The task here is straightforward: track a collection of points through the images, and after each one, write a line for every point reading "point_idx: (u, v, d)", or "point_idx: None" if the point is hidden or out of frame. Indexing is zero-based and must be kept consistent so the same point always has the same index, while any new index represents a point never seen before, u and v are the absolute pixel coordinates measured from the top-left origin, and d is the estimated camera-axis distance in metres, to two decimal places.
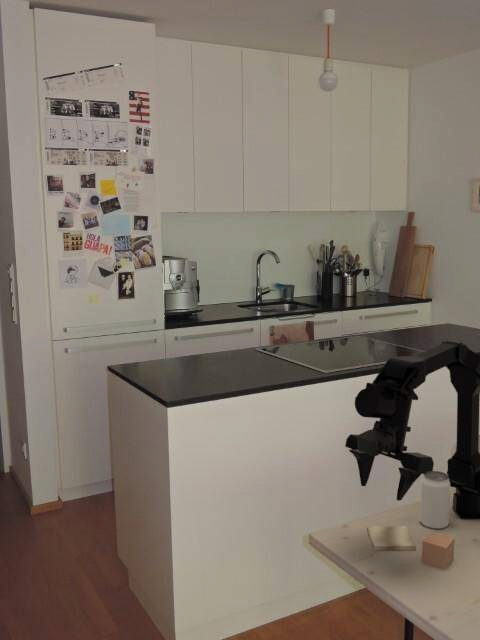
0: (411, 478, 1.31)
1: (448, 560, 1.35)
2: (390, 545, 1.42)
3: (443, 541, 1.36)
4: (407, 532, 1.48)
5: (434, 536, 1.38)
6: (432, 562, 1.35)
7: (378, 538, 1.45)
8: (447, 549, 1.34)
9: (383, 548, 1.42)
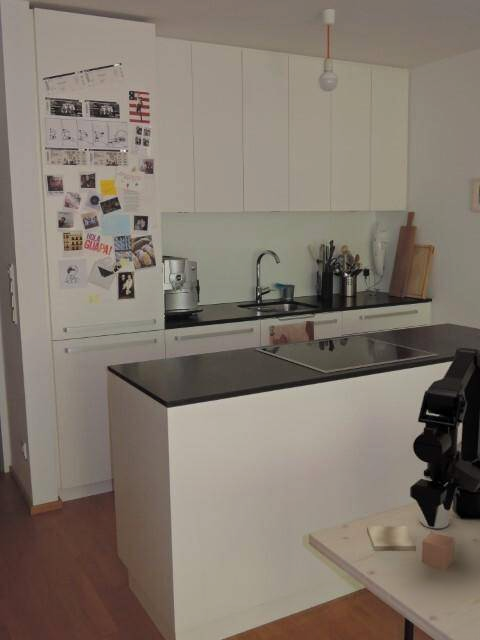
0: None
1: (448, 560, 1.35)
2: (390, 545, 1.42)
3: (443, 541, 1.36)
4: (407, 532, 1.48)
5: (434, 536, 1.38)
6: (432, 562, 1.35)
7: (378, 538, 1.45)
8: (447, 549, 1.34)
9: (383, 548, 1.42)
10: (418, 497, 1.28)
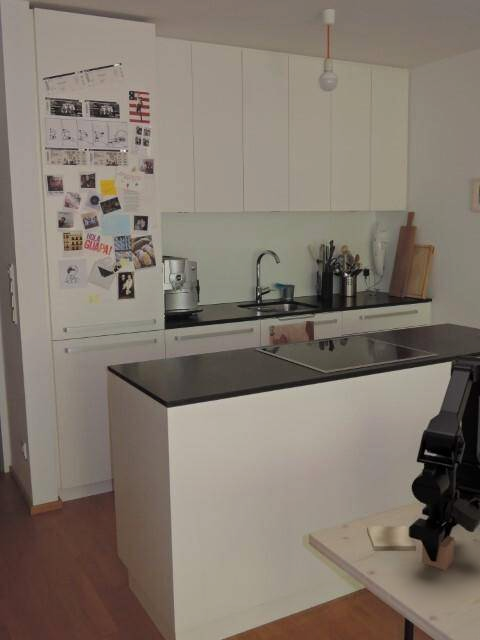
0: None
1: (448, 560, 1.35)
2: (390, 545, 1.42)
3: (443, 541, 1.36)
4: (407, 532, 1.48)
5: None
6: (432, 562, 1.35)
7: (378, 538, 1.45)
8: (447, 549, 1.34)
9: (383, 548, 1.42)
10: (416, 537, 1.29)
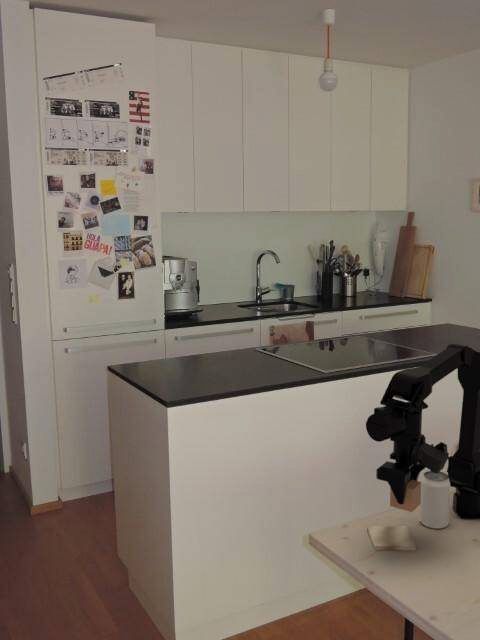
0: None
1: (415, 503, 1.40)
2: (390, 545, 1.42)
3: (410, 484, 1.40)
4: (407, 532, 1.48)
5: None
6: (400, 504, 1.40)
7: (378, 538, 1.45)
8: (414, 491, 1.39)
9: (383, 548, 1.42)
10: (384, 478, 1.34)
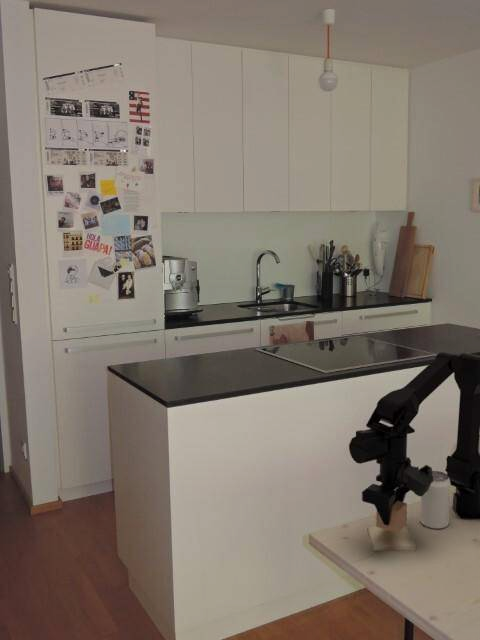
0: None
1: (400, 524, 1.43)
2: (390, 545, 1.42)
3: (396, 506, 1.44)
4: (407, 532, 1.48)
5: None
6: (385, 525, 1.44)
7: (378, 538, 1.45)
8: (399, 513, 1.42)
9: (383, 548, 1.42)
10: (369, 501, 1.38)
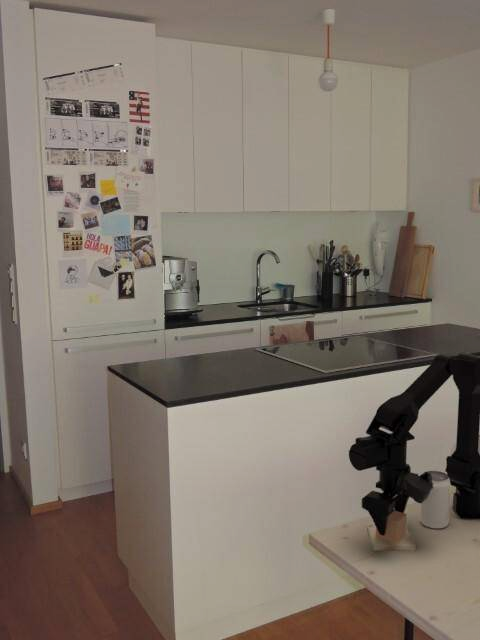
0: None
1: (400, 534, 1.44)
2: (390, 545, 1.42)
3: (395, 516, 1.44)
4: (407, 532, 1.48)
5: None
6: (385, 536, 1.44)
7: (378, 538, 1.45)
8: (399, 524, 1.43)
9: (383, 548, 1.42)
10: (368, 508, 1.38)
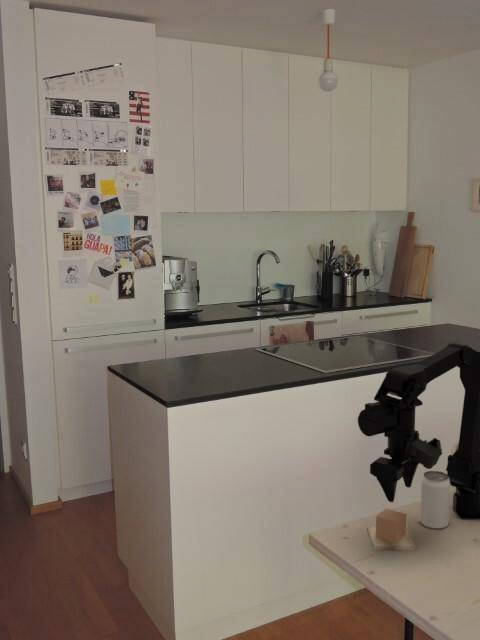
0: None
1: (400, 534, 1.44)
2: (390, 545, 1.42)
3: (395, 516, 1.44)
4: (407, 532, 1.48)
5: (387, 512, 1.46)
6: (385, 536, 1.44)
7: (378, 538, 1.45)
8: (399, 524, 1.43)
9: (383, 548, 1.42)
10: (377, 473, 1.36)
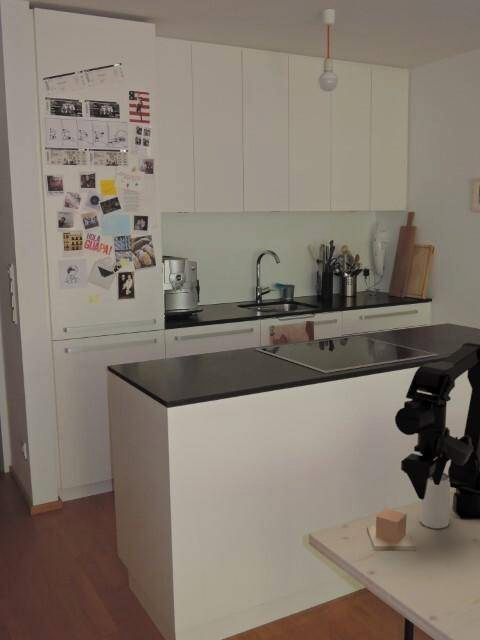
0: None
1: (400, 534, 1.44)
2: (390, 545, 1.42)
3: (395, 516, 1.44)
4: (407, 532, 1.48)
5: (387, 512, 1.46)
6: (385, 536, 1.44)
7: (378, 538, 1.45)
8: (399, 524, 1.43)
9: (383, 548, 1.42)
10: (408, 470, 1.35)
